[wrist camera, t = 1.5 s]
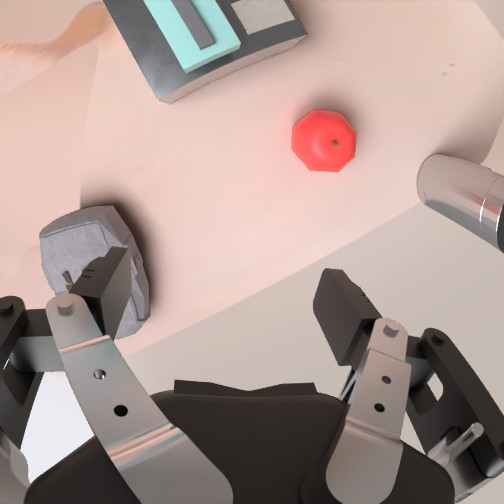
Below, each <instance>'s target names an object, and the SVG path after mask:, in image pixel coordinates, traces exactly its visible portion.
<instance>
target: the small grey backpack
mask: <svg viewBox="0 0 504 504" xmlns="http://www.w3.org/2000/svg"><path fill="white" fill-rule="evenodd" d="M112 246H118V247H127V248H130V250H131V275H132V288H131V294H130V298H129V301H128V303H127V306H126V308H125V311H124V314H123V316H122V319H121V322H120V325H119V327H118V330H117V333H116V336H115V339H121V338H124V337H127V336H130V335H133V334H135V333H136V332H137V331H138V330H139V329H140V328H141V326H142V325H143V324H144V323H145V321H146V320H147V319H148V318H149V316H150V307H149V284H148V281H147V278H146V274H145V271H144V268H143V265H142V264H143V259H142V256H141V253H140V252H139V249H138V247H137V244H136V242H135V239H134V236H133V235H132V234H131V231H130V230H129V228H128V227H127V225H126V224H125V222H124V221H123V220H122V218H121V217H120V215H119V214H118V212H117V211H116V209H115V208H114V206H94V207H89V208H84V209H80V210H77V211H74V212H72V213H69V214H66V215H64V216H62V217H60V218H58V219H56V220H54V221H53V222H51V223H50V224H49V225H47V226H46V227H44V228H43V229H42V231H41V232H40V247H41V258H42V264H41V266H42V268H43V271H44V273H45V276H46V278H47V280H48V283H49V285H50V287H51V289H52V290H54V292H55V296H58V295H61V294H68V293H69V291H70V290H71V288H72V287H73V285H74V284H75V282H76V281H77V279H78V278H79V276H81V274H82V272H83V271H84V270H85V268H86V267H87V265H88V264H89V262H91V261H92V260H94V259H95V258H97V257H105V255H106V254H107V252H108V251H109V249H110V248H111V247H112Z"/></svg>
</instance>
